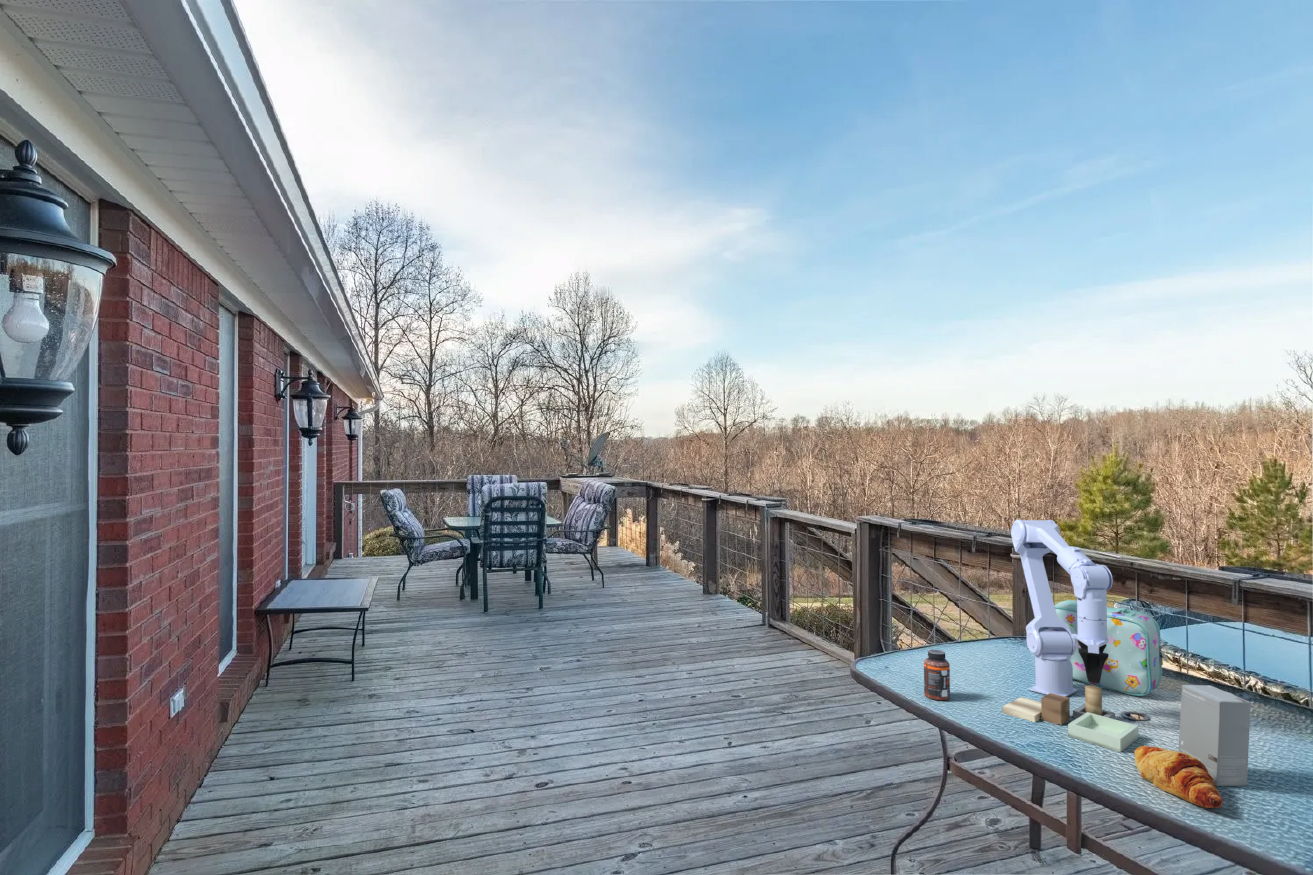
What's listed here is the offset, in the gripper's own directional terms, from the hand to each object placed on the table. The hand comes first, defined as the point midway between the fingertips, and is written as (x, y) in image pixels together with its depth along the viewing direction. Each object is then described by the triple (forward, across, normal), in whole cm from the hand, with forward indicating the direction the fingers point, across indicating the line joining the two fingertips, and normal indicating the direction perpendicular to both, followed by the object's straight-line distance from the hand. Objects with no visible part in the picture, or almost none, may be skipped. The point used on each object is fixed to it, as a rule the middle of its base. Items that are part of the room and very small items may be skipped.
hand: (1093, 677), depth 149 cm
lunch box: (+10, -29, +3) cm, 30 cm away
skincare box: (+10, +20, +18) cm, 29 cm away
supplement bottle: (+10, +5, -33) cm, 34 cm away
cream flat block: (+10, +4, -13) cm, 17 cm away
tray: (+9, +11, +1) cm, 15 cm away
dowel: (+9, 0, 0) cm, 9 cm away
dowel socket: (+9, 0, 0) cm, 9 cm away
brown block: (+9, +6, -7) cm, 13 cm away
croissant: (+10, +29, +12) cm, 32 cm away
